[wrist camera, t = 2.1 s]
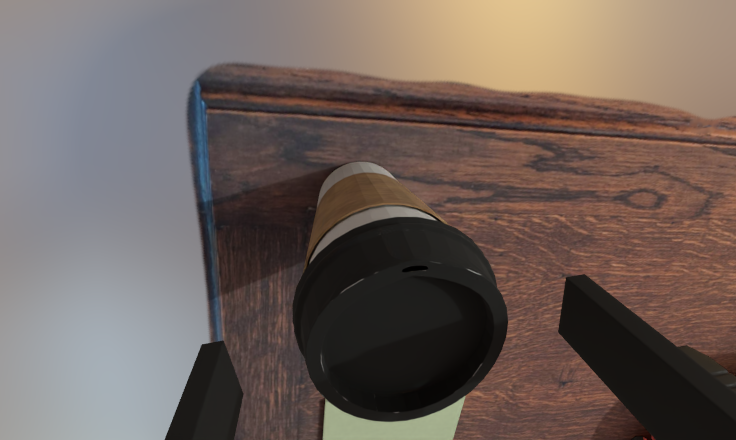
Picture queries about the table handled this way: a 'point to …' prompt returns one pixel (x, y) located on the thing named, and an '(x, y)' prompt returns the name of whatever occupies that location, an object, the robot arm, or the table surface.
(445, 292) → the coffee cup
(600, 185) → the table surface
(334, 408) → the sage mat
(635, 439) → the cat figurine
